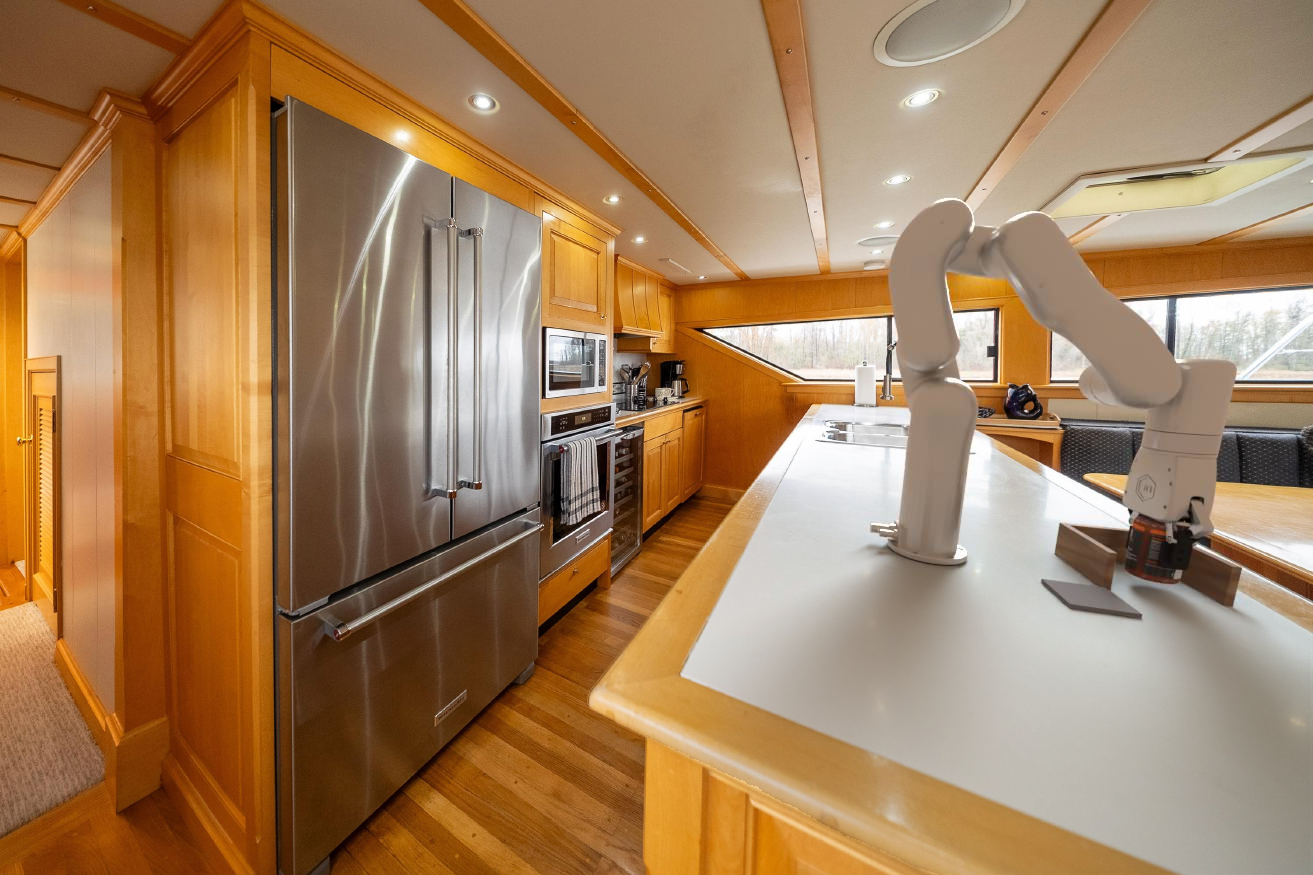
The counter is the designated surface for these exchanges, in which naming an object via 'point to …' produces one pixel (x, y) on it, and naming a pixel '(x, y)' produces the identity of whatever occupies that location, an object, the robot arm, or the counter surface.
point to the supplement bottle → (1149, 551)
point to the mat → (1090, 598)
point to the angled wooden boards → (1107, 546)
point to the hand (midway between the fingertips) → (1154, 557)
